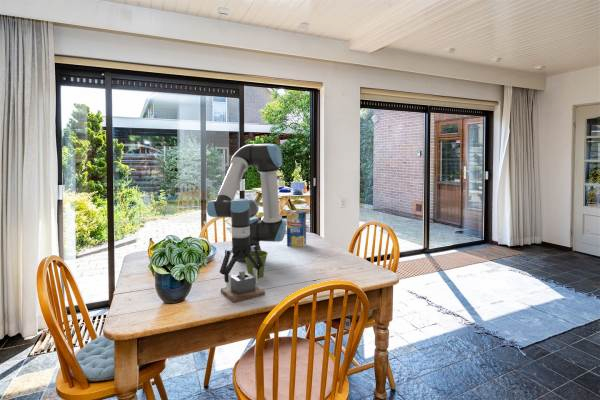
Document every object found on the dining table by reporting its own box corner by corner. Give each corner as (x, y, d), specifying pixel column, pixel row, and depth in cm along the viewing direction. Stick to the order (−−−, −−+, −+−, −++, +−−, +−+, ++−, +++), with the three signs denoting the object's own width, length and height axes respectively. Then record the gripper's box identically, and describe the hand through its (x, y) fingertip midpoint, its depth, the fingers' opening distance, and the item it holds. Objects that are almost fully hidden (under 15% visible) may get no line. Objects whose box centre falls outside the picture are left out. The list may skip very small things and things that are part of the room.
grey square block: (230, 289, 154) (229, 275, 153) (247, 285, 158) (246, 272, 158) (237, 295, 147) (237, 281, 147) (255, 291, 152) (255, 277, 151)
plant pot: (264, 280, 169) (264, 257, 167) (240, 279, 171) (239, 256, 169) (270, 272, 180) (270, 250, 179) (248, 271, 182) (247, 249, 181)
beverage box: (290, 243, 237) (290, 210, 234) (306, 244, 234) (306, 211, 231) (286, 246, 231) (286, 212, 228) (303, 247, 227) (303, 213, 225)
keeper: (220, 291, 155) (220, 270, 154) (250, 285, 163) (249, 264, 161) (234, 302, 143) (233, 280, 142) (265, 295, 151) (264, 273, 150)
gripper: (216, 241, 140) (218, 295, 143) (270, 234, 153) (271, 283, 156) (210, 238, 146) (212, 289, 149) (262, 230, 159) (263, 278, 162)
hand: (242, 286), depth 153 cm, fingers open, 11 cm apart
